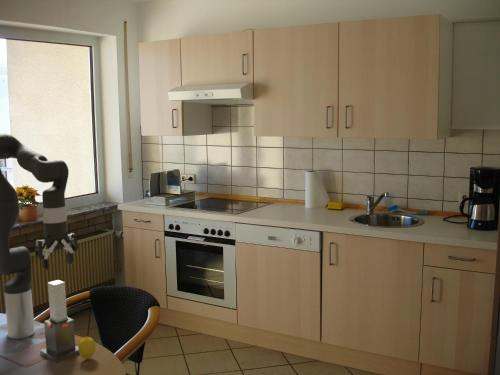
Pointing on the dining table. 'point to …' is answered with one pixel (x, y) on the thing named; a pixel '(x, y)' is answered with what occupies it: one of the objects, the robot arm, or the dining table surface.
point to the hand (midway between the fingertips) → (58, 266)
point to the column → (57, 302)
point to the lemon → (87, 347)
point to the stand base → (59, 341)
